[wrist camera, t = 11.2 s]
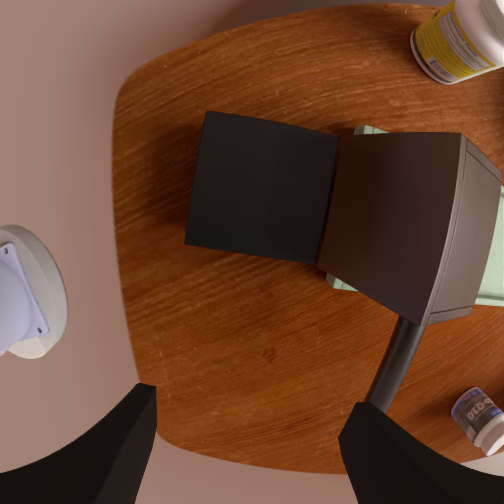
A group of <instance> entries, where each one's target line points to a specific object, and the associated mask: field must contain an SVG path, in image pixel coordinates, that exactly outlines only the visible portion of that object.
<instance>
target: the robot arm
mask: <svg viewBox="0 0 504 504" xmlns="http://www.w3.org/2000/svg"><path fill="white" fill-rule="evenodd" d="M7 250H8V252H7ZM40 329H41V330H40ZM49 331H50V330H49V326H48V324H47V322H46V320H45V318H44V316H43V314H42V312H41V310H40V308H39V305H38V303H37V301H36V299H35V297H34V294H33V292H32V290H31V287H30V285H29V282H28V280H27V277H26V275H25V272H24V270H23V267H22V264H21V262H20V259H19V256H18V253H17V250H16V247H15V245H14V243H12V242H9V243H7V244H5V245H4V246H2V247H1V248H0V356H2V355H3V354H4V353H5V352H6V351H7V350H8V349H9V348H10V347H11V346H13V345H14V344H15V343H16V342H20V341H23V340H27V339H31V338H35V337H39V336H42V335H46V334H47V333H49ZM156 428H157V406H156V386H152V385H147V384H143V383H138V384H136V385H135V386H134V388H133V389H132V390H131V391H130V392H129V393H128V394H127V395H126V396H125V397H124V398H123V399H122V401H120V402H119V404H117V405H116V406H115V407H114V408H113V409H112V410H111V411H110V412H109V413H108V414H107V415H106V416H105V417H104V418H102V419H101V420H100V421H99V422H98V423H96V424H95V425H94V426H93V427H92V428H90V429H89V430H88V431H87V432H85V433H84V434H83V435H81V436H80V437H78V438H77V439H76V440H74V441H73V442H71V443H70V444H68V445H66V446H65V447H63V448H61V449H60V450H58V451H56V452H54V453H52V454H51V455H49V456H47V457H45V458H43V459H40V460H38V461H36V462H33V463H30V464H28V465H25V466H23V467H20V468H17V469H14V470H11V471H7V472H3V473H0V504H135V501H136V496H137V493H138V490H139V487H140V484H141V481H142V478H143V475H144V472H145V469H146V466H147V463H148V460H149V457H150V453H151V451H152V447H153V442H154V438H155V433H156ZM338 439H339V445H340V450H341V455H342V459H343V462H344V465H345V468H346V471H347V473H348V476H349V479H350V481H351V484H352V487H353V490H354V492H355V495H356V497H357V501H358V504H504V477H503V476H496V475H491V474H488V473H484V472H480V471H477V470H474V469H470V468H468V467H466V466H463V465H461V464H458V463H456V462H454V461H452V460H450V459H448V458H446V457H444V456H442V455H440V454H438V453H437V452H435V451H433V450H432V449H430V448H429V447H427V446H426V445H424V444H423V443H421V442H420V441H418V440H417V439H416V438H414V437H413V436H412V435H410V434H409V433H408V432H407V431H405V430H404V429H403V428H402V427H400V426H399V425H398V424H397V423H395V422H394V421H393V420H392V419H391V418H389V417H388V416H387V415H386V414H385V413H383V412H382V411H381V410H380V409H378V408H377V407H376V406H375V405H373V404H372V403H371V402H357V403H356V404H355V406H354V408H353V410H352V412H351V414H350V416H349V418H348V420H347V422H346V424H345V426H344V428H343V429H342V431H341V433H340V435H339V437H338Z"/></svg>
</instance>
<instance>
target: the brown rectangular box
mask: <svg viewBox="0 0 504 504" xmlns="http://www.w3.org/2000/svg"><path fill="white" fill-rule="evenodd" d="M501 182H502V172H501V171H500V170H499V169H498V168H497V167H496V166H495V164H494V163H493V162H492V161H491V160H490V159H489V158H488V157H487V156H486V155H485V154H484V153H483V152H481V151H480V150H479V149H478V148H477V147H476V146H475V145H474V144H473V143H472V142H471V141H470V140H469V139H467V138H466V137H465V136H464V135H463V134H462V133H450V132H399V133H374V134H358V135H344V136H342V142H341V148H340V154H339V161H338V166H337V172H336V178H335V184H334V189H333V195H332V200H331V205H330V210H329V215H328V220H327V225H326V230H325V235H324V239H323V244H322V248H321V253H320V257H319V262H318V266H317V267H318V268H320V269H321V270H323V271H325V272H327V273H328V274H330V275H332V276H334V277H335V278H337V279H339V280H340V281H342V282H344V283H346V284H347V285H349V286H351V287H353V288H354V289H356V290H358V291H359V292H361V293H363V294H365V295H366V296H368V297H370V298H371V299H373V300H375V301H377V302H378V303H380V304H382V305H383V306H385V307H387V308H388V309H390V310H392V311H394V312H395V313H397V314H399V317H398V320H397V322H396V325H395V328H394V331H393V333H392V336H391V339H390V341H389V344H388V347H387V349H386V352H385V354H384V356H383V359H382V361H381V364H380V366H379V368H378V371H377V373H376V375H375V378H374V380H373V382H372V384H371V386H370V389H369V391H368V393H367V395H366V397H365V399H364V401H363V402H371V403H372V404H373V405H375V406H376V407H377V408H378V409H380V410H381V411H382V412H383V413H386V412H387V410H388V408H389V406H390V405H391V403H392V401H393V399H394V397H395V395H396V393H397V391H398V389H399V387H400V385H401V383H402V381H403V379H404V377H405V375H406V373H407V371H408V369H409V366H410V364H411V362H412V360H413V357H414V355H415V353H416V350H417V348H418V346H419V343H420V341H421V338H422V336H423V333H424V331H425V328H426V326H427V325H431V324H435V323H440V322H444V321H448V320H452V319H456V318H460V317H464V316H468V315H471V312H472V309H473V305H474V304H475V301H476V298H477V295H478V292H479V289H480V285H481V282H482V279H483V275H484V272H485V268H486V264H487V261H488V257H489V253H490V248H491V244H492V240H493V235H494V230H495V225H496V219H497V213H498V207H499V200H500V193H501V185H502V183H501Z"/></svg>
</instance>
